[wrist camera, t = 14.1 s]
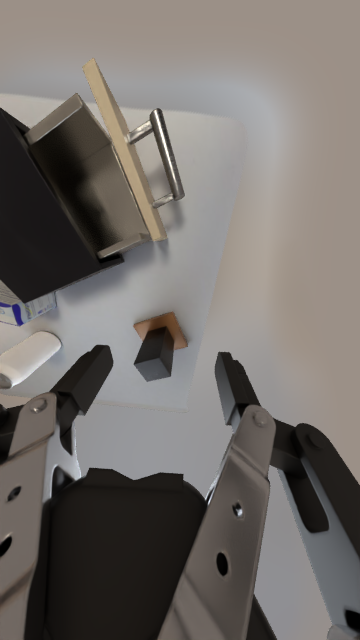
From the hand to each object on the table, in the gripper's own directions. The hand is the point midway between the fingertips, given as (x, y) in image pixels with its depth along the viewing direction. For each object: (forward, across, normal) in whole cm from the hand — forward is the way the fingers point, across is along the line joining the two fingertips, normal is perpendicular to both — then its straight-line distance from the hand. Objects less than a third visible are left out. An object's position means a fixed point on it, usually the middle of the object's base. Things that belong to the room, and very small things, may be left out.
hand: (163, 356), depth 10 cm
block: (+19, +4, +13) cm, 23 cm away
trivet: (+20, +4, +13) cm, 24 cm away
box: (+20, +30, +4) cm, 37 cm away
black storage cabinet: (+20, +20, -8) cm, 29 cm away
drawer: (+19, +9, -12) cm, 24 cm away
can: (+20, +33, +17) cm, 42 cm away
